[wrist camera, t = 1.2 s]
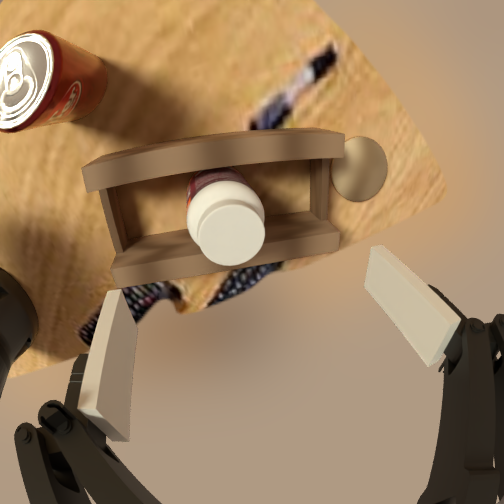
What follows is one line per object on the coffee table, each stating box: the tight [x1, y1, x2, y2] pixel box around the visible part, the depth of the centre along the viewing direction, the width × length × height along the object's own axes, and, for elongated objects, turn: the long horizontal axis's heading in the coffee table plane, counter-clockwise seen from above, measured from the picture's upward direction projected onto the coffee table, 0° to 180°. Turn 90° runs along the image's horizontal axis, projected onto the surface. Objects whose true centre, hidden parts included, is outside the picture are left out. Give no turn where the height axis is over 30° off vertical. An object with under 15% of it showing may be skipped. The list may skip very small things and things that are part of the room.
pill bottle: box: [187, 166, 265, 266], centre depth 24 cm, size 6×6×11 cm
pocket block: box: [81, 128, 345, 288], centre depth 26 cm, size 22×12×6 cm, turn 94°
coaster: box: [330, 137, 387, 202], centre depth 30 cm, size 8×8×1 cm
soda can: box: [0, 30, 108, 133], centre depth 14 cm, size 7×7×12 cm
